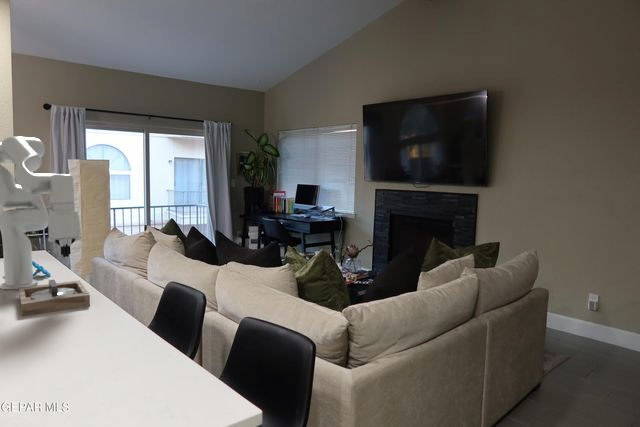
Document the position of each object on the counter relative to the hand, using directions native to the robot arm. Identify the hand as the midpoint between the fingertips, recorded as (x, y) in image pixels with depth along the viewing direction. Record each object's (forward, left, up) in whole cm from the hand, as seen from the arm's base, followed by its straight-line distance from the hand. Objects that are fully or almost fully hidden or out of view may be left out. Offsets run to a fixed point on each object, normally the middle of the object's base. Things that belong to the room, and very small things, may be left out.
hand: (65, 256), depth 163 cm
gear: (-40, +15, -16) cm, 46 cm away
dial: (+1, -6, -14) cm, 15 cm away
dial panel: (+1, -6, -16) cm, 17 cm away
